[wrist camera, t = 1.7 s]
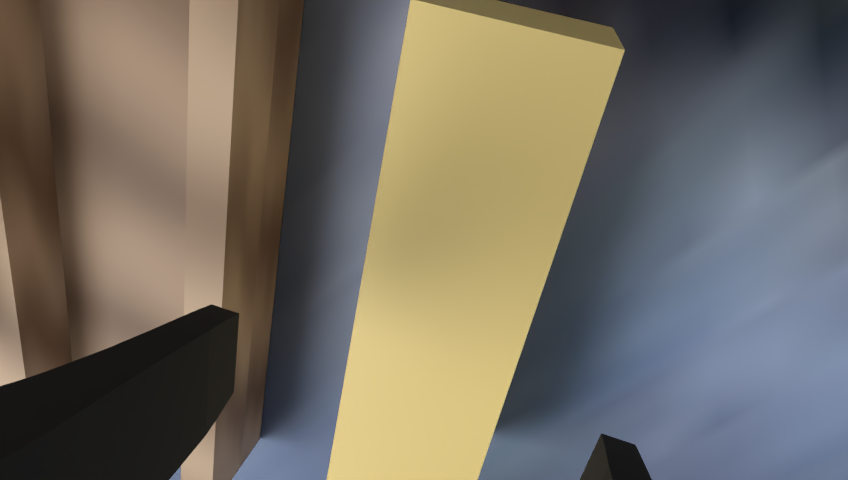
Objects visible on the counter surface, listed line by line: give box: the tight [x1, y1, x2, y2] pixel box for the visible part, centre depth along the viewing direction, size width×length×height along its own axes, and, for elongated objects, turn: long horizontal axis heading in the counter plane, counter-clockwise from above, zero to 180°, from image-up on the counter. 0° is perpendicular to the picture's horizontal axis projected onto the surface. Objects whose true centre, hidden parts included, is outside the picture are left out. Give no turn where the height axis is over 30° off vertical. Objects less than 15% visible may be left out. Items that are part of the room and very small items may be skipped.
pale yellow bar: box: [327, 0, 625, 480], centre depth 16 cm, size 14×4×5 cm, turn 168°
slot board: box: [0, 0, 304, 480], centre depth 18 cm, size 22×16×4 cm
